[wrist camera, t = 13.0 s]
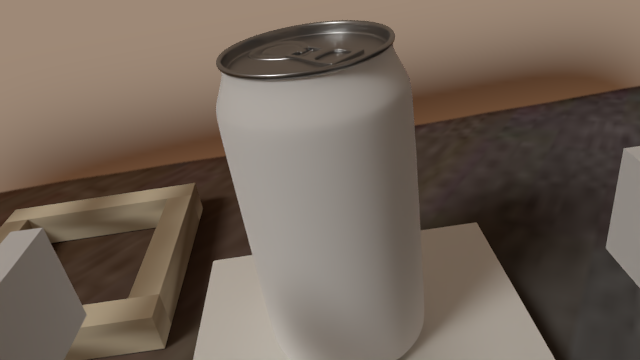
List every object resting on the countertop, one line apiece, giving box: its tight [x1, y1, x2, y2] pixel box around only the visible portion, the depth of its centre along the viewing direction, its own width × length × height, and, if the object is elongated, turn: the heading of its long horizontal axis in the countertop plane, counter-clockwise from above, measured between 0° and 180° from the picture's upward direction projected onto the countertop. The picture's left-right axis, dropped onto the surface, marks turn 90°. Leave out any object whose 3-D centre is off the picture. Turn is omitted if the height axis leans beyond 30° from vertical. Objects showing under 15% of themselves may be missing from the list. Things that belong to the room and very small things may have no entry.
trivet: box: [193, 222, 555, 360], centre depth 22 cm, size 14×11×1 cm
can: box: [216, 20, 424, 360], centre depth 19 cm, size 6×6×12 cm
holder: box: [0, 183, 203, 360], centre depth 28 cm, size 12×12×2 cm
